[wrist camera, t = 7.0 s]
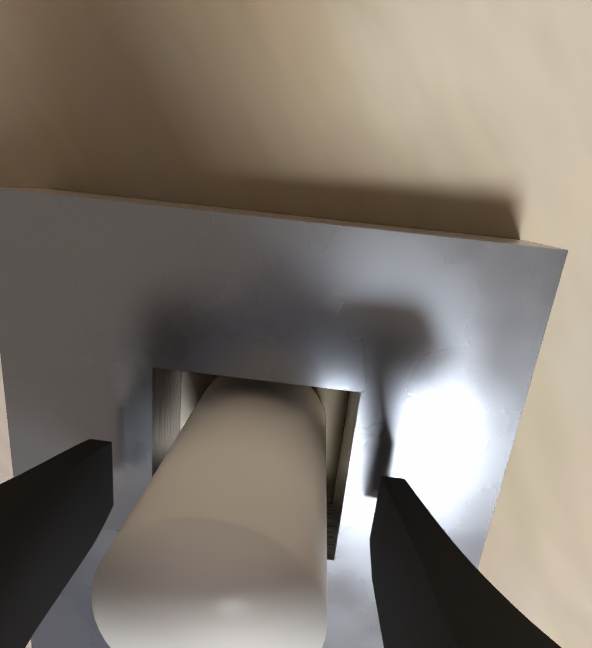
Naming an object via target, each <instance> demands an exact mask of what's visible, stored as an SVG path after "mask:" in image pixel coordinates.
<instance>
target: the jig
mask: <svg viewBox="0 0 592 648" xmlns="http://www.w3.org/2000/svg"><path fill="white" fill-rule="evenodd" d="M567 253H568V250H565V249H560V248H556V247H551V246H547V245H542V244H538V243H533V242H529V241H524V240H518V239H509V238H500V237H490V236H481V235H472V234H463V233H453V232H444V231H435V230H426V229H416V228H407V227H398V226H389V225H379V224H370V223H361V222H351V221H342V220H333V219H324V218H314V217H305V216H296V215H287V214H277V213H268V212H259V211H250V210H240V209H231V208H222V207H213V206H203V205H194V204H185V203H175V202H166V201H157V200H148V199H138V198H129V197H120V196H111V195H101V194H92V193H83V192H74V191H64V190H55V189H43V188H8V187H0V354H1V363H2V373H3V382H4V391H5V401H6V410H7V419H8V429H9V438H10V448H11V457H12V466H13V476H14V477H16V476H18V475H20V474H22V473H24V472H26V471H27V470H29V469H31V468H33V467H35V466H37V465H39V464H41V463H43V462H45V461H47V460H49V459H50V458H52V457H54V456H56V455H58V454H60V453H62V452H64V451H66V450H68V449H69V448H71V447H73V446H75V445H77V444H79V443H82V442H84V441H86V440H88V439H95V440H103V441H111V442H112V462H113V499H114V506H113V508H112V510H111V512H110V514H109V516H108V518H107V520H106V522H105V524H104V526H103V528H102V530H101V532H100V534H99V536H98V537H97V539H96V541H95V543H94V544H93V546H92V547H91V549H90V551H89V552H88V554H87V555H86V557H85V558H84V560H83V561H82V563H81V564H80V566H79V567H78V569H77V570H76V572H75V573H74V575H73V576H72V577H71V579H70V580H69V582H68V583H67V585H66V586H65V588H64V589H63V591H62V592H61V594H60V595H59V597H58V598H57V600H56V601H55V603H54V604H53V605H52V607H51V608H50V610H49V611H48V613H47V614H46V616H45V617H44V619H43V620H42V622H41V623H40V625H39V626H38V628H37V629H36V631H35V632H34V634H33V636H32V637H31V644H32V648H110V647H109V645H108V644H107V643H106V641H105V640H104V638H103V636H102V634H101V632H100V631H99V628H98V626H97V623H96V621H95V618H94V613H93V609H92V599H91V592H92V583H93V580H94V576H95V573H96V570H97V568H98V566H99V564H100V562H101V560H102V559H103V557H104V555H105V554H106V552H107V550H108V549H109V547H110V546H111V544H112V542H113V541H114V539H115V537H116V536H117V534H118V533H119V531H120V529H121V528H122V526H123V524H124V523H125V521H126V519H127V518H128V516H129V515H130V513H131V511H132V510H133V508H134V506H135V505H136V503H137V502H138V500H139V498H140V497H141V495H142V493H143V492H144V490H145V488H146V487H147V485H148V484H149V482H150V480H151V479H152V477H153V475H154V474H155V472H156V471H157V469H158V467H159V466H160V464H161V462H162V461H163V459H164V458H165V456H166V454H167V453H168V451H169V449H170V448H171V446H172V444H173V443H174V441H175V440H176V438H177V436H178V435H179V433H180V401H181V371H188V372H196V373H204V374H213V375H221V376H229V377H238V378H246V379H254V380H263V381H271V382H279V383H287V384H296V385H304V386H312V387H321V388H329V389H337V390H346V391H350V392H349V399H348V405H347V412H346V419H345V425H344V432H343V438H342V445H341V452H340V458H339V465H338V471H337V478H336V484H335V491H334V498H333V504H332V503H326V506H327V631H326V638H325V641H324V644H323V647H322V648H384V646H383V640H382V635H381V629H380V623H379V618H378V612H377V606H376V600H375V594H374V589H373V582H372V573H371V558H370V540H369V539H370V533H371V528H372V523H373V517H374V512H375V507H376V501H377V496H378V491H379V485H380V480H381V476H388V477H396V478H404V479H405V480H406V481H407V482H408V484H409V485H410V486H411V488H412V489H413V490H414V492H415V493H416V494H417V496H418V497H419V498H420V500H421V501H422V502H423V504H424V505H425V506H426V508H427V509H428V510H429V512H430V513H431V514H432V516H433V517H434V518H435V520H436V521H437V522H438V523H439V525H440V526H441V527H442V529H443V530H444V531H445V532H446V533H447V535H448V536H449V537H450V538H451V540H452V541H453V542H454V543H455V544H456V546H457V547H458V548H459V549H460V550H461V552H462V553H463V554H464V555H465V556H466V557H467V558H468V559H469V560H470V562H471V563H472V564H473V565H474V566H475V567H476V568H478V564H479V561H480V557H481V554H482V550H483V547H484V543H485V540H486V536H487V533H488V529H489V526H490V522H491V519H492V515H493V512H494V508H495V505H496V501H497V498H498V494H499V491H500V487H501V484H502V480H503V477H504V473H505V470H506V466H507V463H508V459H509V456H510V452H511V449H512V445H513V442H514V438H515V435H516V431H517V428H518V424H519V421H520V417H521V414H522V410H523V407H524V403H525V400H526V396H527V393H528V389H529V386H530V382H531V379H532V375H533V372H534V368H535V365H536V361H537V358H538V354H539V351H540V347H541V344H542V340H543V337H544V333H545V330H546V326H547V323H548V319H549V316H550V312H551V309H552V305H553V302H554V298H555V295H556V291H557V288H558V284H559V281H560V277H561V274H562V270H563V267H564V263H565V260H566V256H567Z"/></svg>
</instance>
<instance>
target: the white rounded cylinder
mask: <svg viewBox="0 0 592 648" xmlns="http://www.w3.org/2000/svg"><path fill="white" fill-rule="evenodd" d="M91 599H92V609H93V613H94V618H95V621H96V623H97V626H98V628H99V631H100V632H101V634H102V636H103V638H104V640H105V641H106V643H107V644H108V645H109V647H110V648H322V647H323V644H324V641H325V638H326V631H327V506H326V418H325V412H324V409H323V406H322V403H321V401H320V399H319V397H318V396H317V394H316V393H315V391H314V390H313V389H312V387H311V386H304V385H296V384H287V383H279V382H271V381H263V380H254V379H246V378H238V377H229V376H221V375H220V376H219V377H217V378H216V379H215V380H214V381H213V382H212V383H211V384H210V385H209V387H208V388H207V389H206V391H205V392H204V394H203V396H202V397H201V399H200V400H199V402H198V404H197V405H196V407H195V409H194V410H193V412H192V413H191V415H190V417H189V418H188V420H187V422H186V423H185V425H184V427H183V428H182V430H181V431H180V433H179V435H178V436H177V438H176V440H175V441H174V443H173V444H172V446H171V448H170V449H169V451H168V453H167V454H166V456H165V458H164V459H163V461H162V462H161V464H160V466H159V467H158V469H157V471H156V472H155V474H154V475H153V477H152V479H151V480H150V482H149V484H148V485H147V487H146V488H145V490H144V492H143V493H142V495H141V497H140V498H139V500H138V502H137V503H136V505H135V506H134V508H133V510H132V511H131V513H130V515H129V516H128V518H127V519H126V521H125V523H124V524H123V526H122V528H121V529H120V531H119V533H118V534H117V536H116V537H115V539H114V541H113V542H112V544H111V546H110V547H109V549H108V550H107V552H106V554H105V555H104V557H103V559H102V560H101V562H100V564H99V566H98V568H97V570H96V573H95V576H94V580H93V583H92V592H91Z"/></svg>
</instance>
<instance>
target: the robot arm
mask: <svg viewBox="0 0 592 648" xmlns="http://www.w3.org/2000/svg"><path fill="white" fill-rule="evenodd" d="M113 506H114V499H113V462H112V442H111V441H103V440H95V439H88V440H86V441H84V442H82V443H79V444H77V445H75V446H73V447H71V448H69V449H68V450H66V451H64V452H62V453H60V454H58V455H56V456H54V457H52V458H50V459H49V460H47V461H45V462H43V463H41V464H39V465H37V466H35V467H33V468H31V469H29V470H27V471H26V472H24V473H22V474H20V475H18V476H16V477H14V478H12V479H10V480H8V481H6V482H4V483H2V484H0V648H25V647H26V645H27V644H28V642H29V640H30V639H31V637H32V636H33V634H34V632H35V631H36V629H37V628H38V626H39V625H40V623H41V622H42V620H43V619H44V617H45V616H46V614H47V613H48V611H49V610H50V608H51V607H52V605H53V604H54V603H55V601H56V600H57V598H58V597H59V595H60V594H61V592H62V591H63V589H64V588H65V586H66V585H67V583H68V582H69V580H70V579H71V577H72V576H73V575H74V573H75V572H76V570H77V569H78V567H79V566H80V564H81V563H82V561H83V560H84V558H85V557H86V555H87V554H88V552H89V551H90V549H91V547H92V546H93V544H94V543H95V541H96V539H97V537H98V536H99V534H100V532H101V530H102V528H103V526H104V524H105V522H106V520H107V518H108V516H109V514H110V512H111V510H112V508H113ZM369 540H370V558H371V573H372V582H373V589H374V594H375V600H376V606H377V612H378V618H379V623H380V629H381V635H382V640H383V646H384V648H561V647H560V646H559V645H557V644H556V643H555V642H554V641H553V640H552V639H550V638H549V637H548V636H547V635H546V634H545V633H543V632H542V631H541V630H540V629H539V628H538V627H536V626H535V625H534V624H533V623H532V622H531V621H530V620H529V619H527V618H526V617H525V616H524V615H523V614H522V613H521V612H520V611H519V610H518V609H517V608H515V607H514V606H513V605H512V604H511V603H510V602H509V601H508V600H507V599H506V598H505V597H504V596H503V595H502V594H501V593H500V592H499V591H498V590H497V589H496V588H495V587H494V586H493V585H492V584H491V583H490V582H489V581H488V580H487V579H486V578H485V577H484V576H483V575H482V574H481V573H480V572H479V570H478V569H477V568H476V567H475V566H474V565H473V564H472V563H471V562H470V560H469V559H468V558H467V557H466V556H465V555H464V554H463V553H462V552H461V550H460V549H459V548H458V547H457V546H456V544H455V543H454V542H453V541H452V540H451V538H450V537H449V536H448V535H447V533H446V532H445V531H444V530H443V529H442V527H441V526H440V525H439V523H438V522H437V521H436V520H435V518H434V517H433V516H432V514H431V513H430V512H429V510H428V509H427V508H426V506H425V505H424V504H423V502H422V501H421V500H420V498H419V497H418V496H417V494H416V493H415V492H414V490H413V489H412V488H411V486H410V485H409V484H408V482H407V481H406V480H405V479H404V478H396V477H388V476H381V480H380V485H379V491H378V496H377V501H376V507H375V512H374V517H373V523H372V528H371V533H370V539H369Z"/></svg>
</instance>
